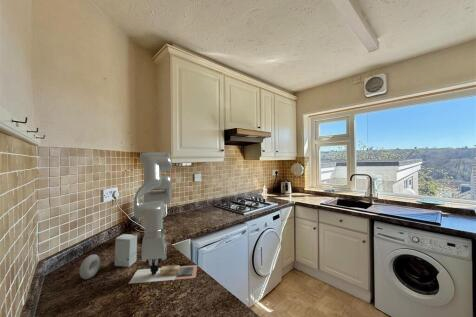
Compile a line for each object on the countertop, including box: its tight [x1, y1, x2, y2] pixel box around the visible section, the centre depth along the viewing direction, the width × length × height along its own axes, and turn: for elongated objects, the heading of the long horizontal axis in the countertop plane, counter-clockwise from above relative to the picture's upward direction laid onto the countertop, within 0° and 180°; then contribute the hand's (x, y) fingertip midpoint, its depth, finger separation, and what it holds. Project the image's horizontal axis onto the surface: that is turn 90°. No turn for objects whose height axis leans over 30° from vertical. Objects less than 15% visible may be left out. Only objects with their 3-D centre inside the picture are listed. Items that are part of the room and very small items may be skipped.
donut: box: [79, 254, 101, 280], centre depth 88 cm, size 10×4×10 cm, turn 178°
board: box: [128, 264, 198, 285], centre depth 88 cm, size 10×28×1 cm, turn 97°
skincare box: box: [114, 233, 138, 268], centre depth 97 cm, size 8×6×15 cm
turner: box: [160, 264, 194, 277], centre depth 89 cm, size 14×6×3 cm, turn 97°
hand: (154, 272), depth 88 cm, fingers closed
